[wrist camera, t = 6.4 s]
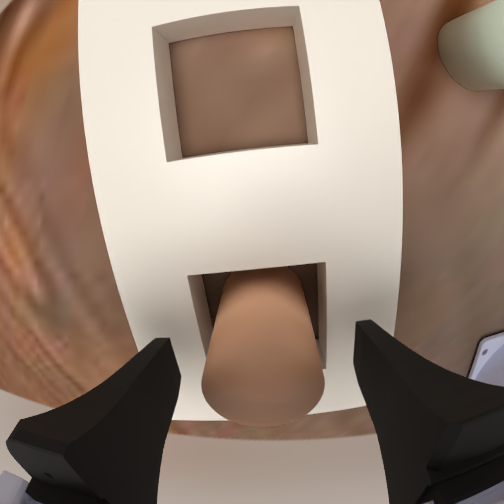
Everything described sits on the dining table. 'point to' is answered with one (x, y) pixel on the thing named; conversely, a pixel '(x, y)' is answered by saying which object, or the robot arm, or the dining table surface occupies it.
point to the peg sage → (475, 47)
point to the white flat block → (245, 178)
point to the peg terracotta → (263, 351)
